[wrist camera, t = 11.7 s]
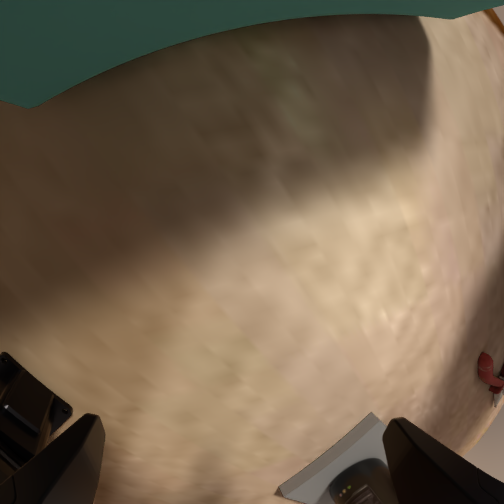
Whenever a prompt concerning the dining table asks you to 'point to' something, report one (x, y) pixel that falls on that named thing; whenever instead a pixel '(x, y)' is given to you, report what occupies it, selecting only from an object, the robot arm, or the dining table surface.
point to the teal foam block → (148, 32)
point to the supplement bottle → (364, 484)
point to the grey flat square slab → (337, 462)
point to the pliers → (491, 376)
